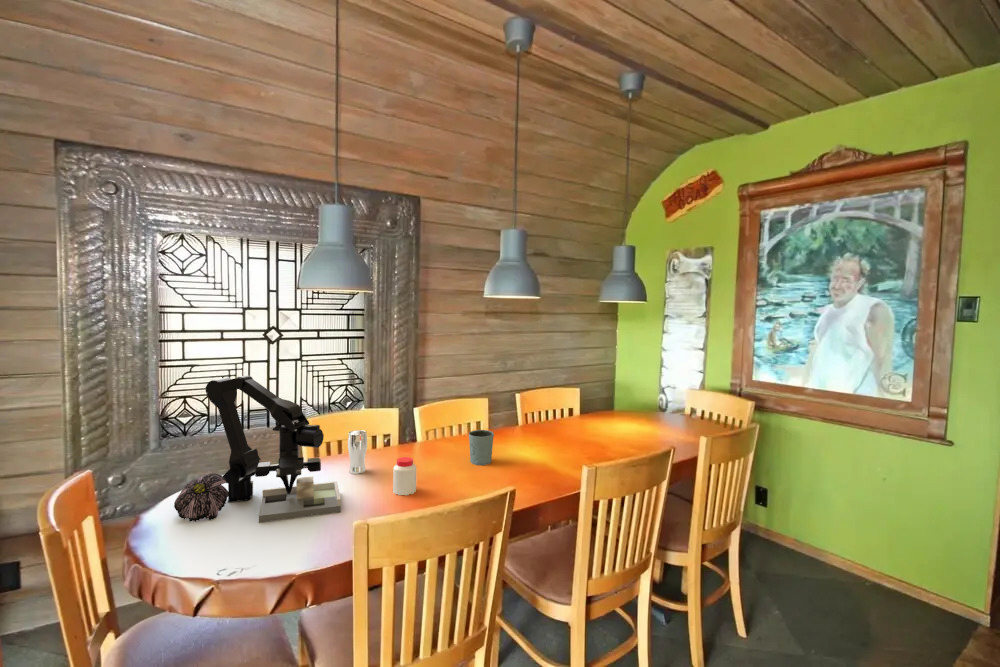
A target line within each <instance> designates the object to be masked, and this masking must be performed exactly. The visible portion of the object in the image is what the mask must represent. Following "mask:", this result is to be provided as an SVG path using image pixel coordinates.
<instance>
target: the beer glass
mask: <svg viewBox="0 0 1000 667" xmlns="http://www.w3.org/2000/svg"><path fill="white" fill-rule="evenodd" d="M367 435H368V434H367V431H366V430H364V429H363V430H362V429H355V430H350V431H348V436H347V450H348V456H349V468H348V473H350V474H351V475H360V474H363V473H365V472H366V462H365V461H366V455H367V448H368V436H367Z"/></svg>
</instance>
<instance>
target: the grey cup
mask: <svg viewBox="0 0 1000 667" xmlns="http://www.w3.org/2000/svg"><path fill="white" fill-rule="evenodd" d="M494 435H495V433H494V432H493V431H492V430H487V429H477V430H476V429H475V430H471V431H469V432H468V441H469V455H470V456H469V459H470V460H469V461H470V463H471V464H472V465H474V464H475V465H474V466H487V464H488V465H490V464H491V463H492V459H493V458H492V457H493V456H492V455H493V445H494V444H493V443H494V437H495V436H494Z"/></svg>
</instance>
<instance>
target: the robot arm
mask: <svg viewBox="0 0 1000 667" xmlns="http://www.w3.org/2000/svg"><path fill="white" fill-rule="evenodd" d="M238 390H240V391H241V392H242V393H244V394H245V395H246V396H248V397H250V398H251V399H252V400H254V401H256V403H259V405H260V406H263V407H264V408H265V409H266V410H268V411H269V413H270V416H271V418H272V419H273V420H274V421H275V422H277V424H276V426H275V425H274V427H273V428H271V429H272V431H274V432H278V463H277V464H271V463H272V462H271V461H263V462H260V461H261V460H262V459H261V458H260V456H259V452H258V449H257V448H251V447H250V445H249V444H248V441H247V438H246V435H245V431H244V428H243V425H242V422H241V418H240V415H239V412H238V408H237V405H236V399H237V396H238V392H237V391H238ZM204 391H205V393H206V395H207V398H208V399H209V401H210V402H211V403H212V404H213V405H214V406H215V407H216V408H217V410H218V414H219V416H220V420H221V423H222V426H223V430H224V432H225V436H226V439H227V443H228V445H229V449H230V454H229V460H228V463H229V464H228V466H229V469H228V470H227V471H226V472H225V473H224V474H223V475H222V476H223V477H224V478H225V479H226V480H227V482H226V483H225V484H227V485H228V488H227V491H228V492H229V496H228V497H227V500H226V503H232V502H233V503H234V502H242V501H250V500H251V499H252V496H253V495H254V481H253V480H252V477H253V476H255V477H257V478H258V477H267V476H268V475H269V474H270V472H275V474H276V475H275V476H276V478H280V480H281V481H282V483H283V485H284V487H285V488H286V491H287V493H288V494H290V493H291V490H292V487H293V486H294V485H295V484H294V483H295V482H296V480H297V478H298V476H301V475H302V470H304V469H307V471H308V472H310V473H312V472H313V473H314V472H320V471H321V469H322V465H321V464H322V462H321V458H320V457H311V458H309V457H308V458H307V461H305V460H304V456H301V457H300V447H306V448H320V447H321V446H322V444H323V442H324V436H325V435H324V431H323V430H322V429H321V426H320V425H319V424H310V422H309V420H308V419H307V417H306V416H305V414H304V412H303V411H302V409H303V408H302V407H301V405H299V404H298V403H295V402H293V401H291V400H288V399H283V398H281V397H279V396H277V395H276V394H274V392H272V391H270V390H269V389H268V388H266V387H265V386H263V385H262V384H260V383H259V382H257V381H256V380H255V379H254V378H253V377H252V376H251V375H246V374H245V375H243V376H242V375H241V376H238V377H235V378H230V377H222V378H217V379H213V380H209V381H208V382H207V384H206V386H205V390H204ZM289 477H290V478H289Z"/></svg>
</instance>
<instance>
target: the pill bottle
mask: <svg viewBox="0 0 1000 667" xmlns="http://www.w3.org/2000/svg"><path fill="white" fill-rule="evenodd" d="M392 471H393V472H392V474H393V475H392V493H393V494H394V493H395V494H394V495H396V494H398V495H397V496H401V495H405V496H410V495H409V494H411V495H413V494H415V493H416V491H417V465H416V464H415V463H414V459H413V458H412V457H410V456H401V457H398V458H397V459H396V464H395V465H394V466H393V468H392ZM414 492H415V493H414Z"/></svg>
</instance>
